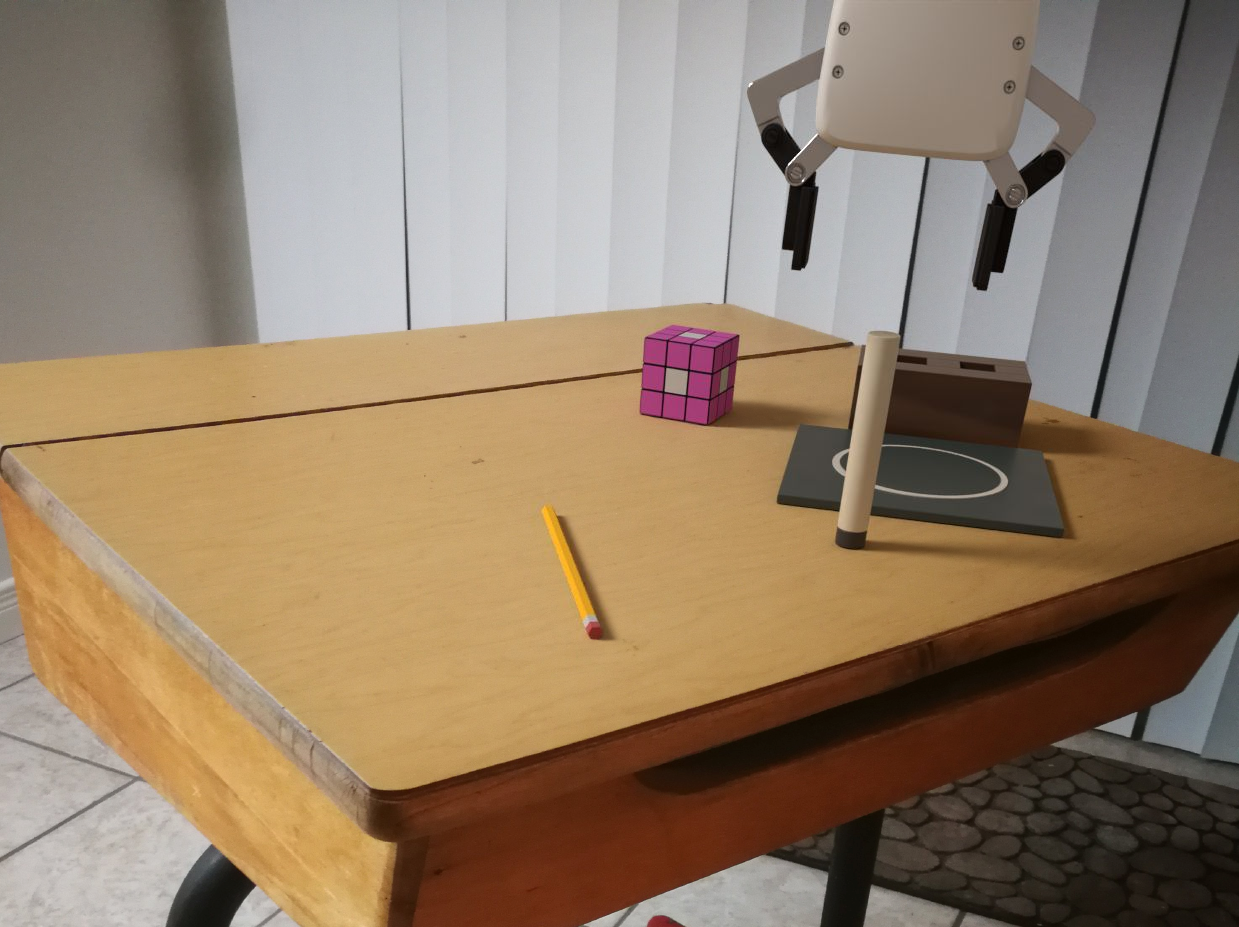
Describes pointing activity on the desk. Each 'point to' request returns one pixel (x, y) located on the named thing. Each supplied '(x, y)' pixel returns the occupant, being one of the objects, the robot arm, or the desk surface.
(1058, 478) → the desk surface
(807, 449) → the board
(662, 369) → the puzzle toy
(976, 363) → the holder
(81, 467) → the desk surface
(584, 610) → the pencil
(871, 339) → the marker
